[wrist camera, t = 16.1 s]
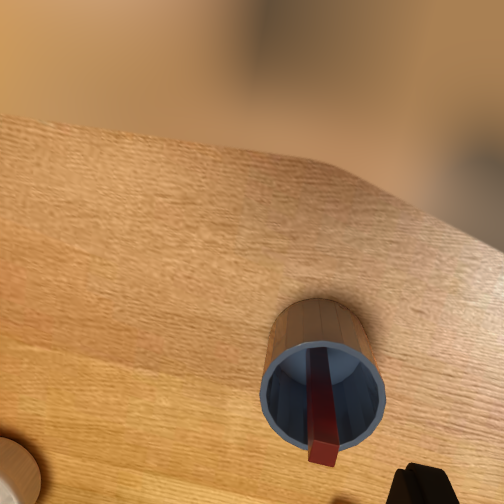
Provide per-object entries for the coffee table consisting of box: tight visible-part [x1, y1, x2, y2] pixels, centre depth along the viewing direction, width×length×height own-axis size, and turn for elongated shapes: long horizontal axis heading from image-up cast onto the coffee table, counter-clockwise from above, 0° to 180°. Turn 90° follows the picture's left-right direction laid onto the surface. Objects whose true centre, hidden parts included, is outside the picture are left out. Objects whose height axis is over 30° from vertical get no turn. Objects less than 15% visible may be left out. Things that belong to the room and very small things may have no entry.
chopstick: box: [306, 347, 340, 467], centre depth 32 cm, size 2×2×14 cm
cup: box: [259, 299, 386, 452], centre depth 35 cm, size 9×9×9 cm
